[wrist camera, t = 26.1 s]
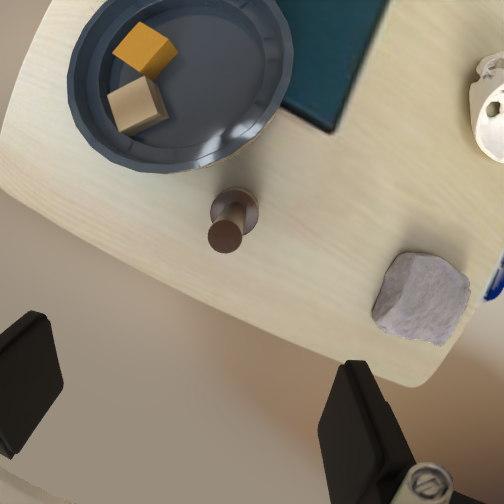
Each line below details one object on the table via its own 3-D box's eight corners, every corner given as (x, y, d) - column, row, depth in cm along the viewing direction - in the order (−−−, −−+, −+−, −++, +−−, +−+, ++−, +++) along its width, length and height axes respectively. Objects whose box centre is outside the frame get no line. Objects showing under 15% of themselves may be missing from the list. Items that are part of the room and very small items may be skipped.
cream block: (123, 101, 28) (106, 95, 24) (157, 84, 27) (144, 75, 24) (134, 134, 29) (118, 132, 25) (169, 118, 28) (157, 113, 25)
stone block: (390, 241, 34) (363, 323, 35) (412, 244, 29) (381, 336, 30) (457, 268, 35) (433, 338, 36) (481, 273, 31) (454, 351, 31)
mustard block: (151, 34, 26) (139, 21, 22) (178, 52, 26) (168, 38, 23) (127, 63, 27) (111, 53, 23) (152, 81, 27) (139, 72, 23)
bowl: (115, 0, 25) (94, -22, 19) (296, 0, 25) (303, -27, 19) (85, 165, 30) (55, 168, 25) (273, 181, 31) (277, 186, 25)
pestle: (250, 181, 31) (247, 193, 19) (263, 223, 32) (267, 259, 21) (208, 194, 31) (181, 214, 20) (222, 235, 33) (203, 277, 21)
